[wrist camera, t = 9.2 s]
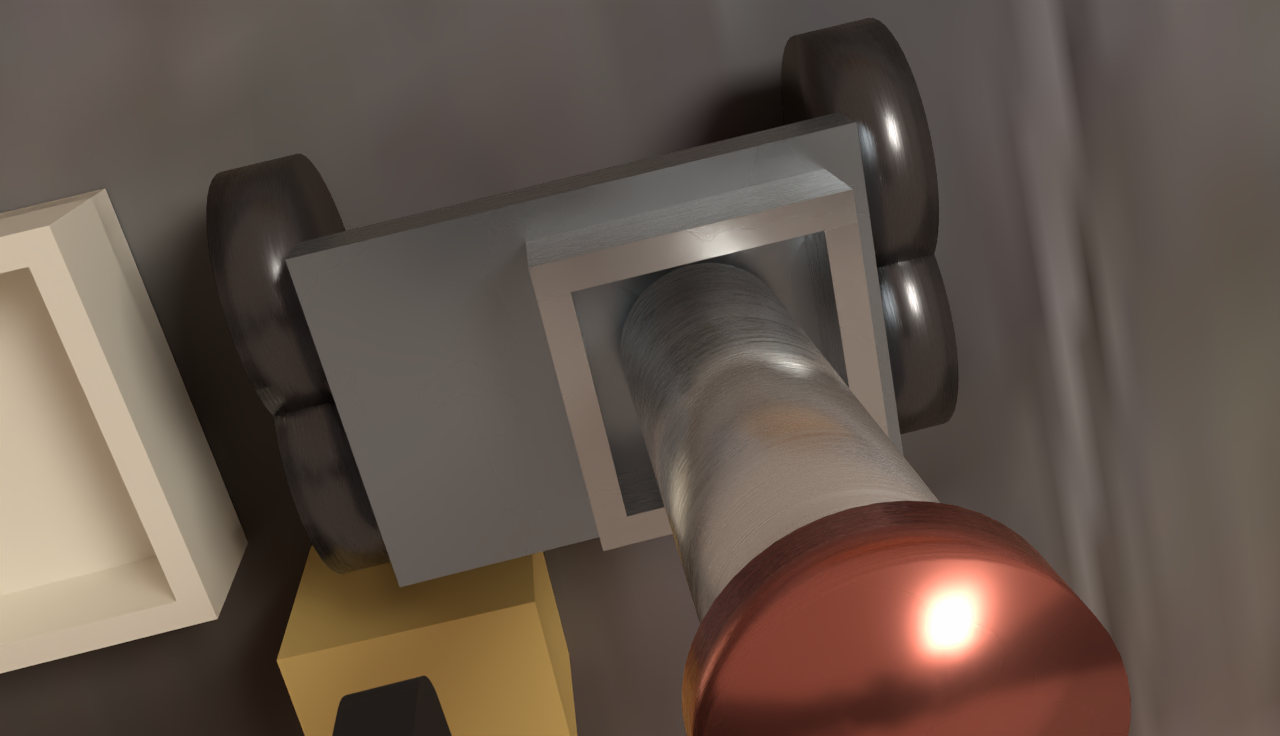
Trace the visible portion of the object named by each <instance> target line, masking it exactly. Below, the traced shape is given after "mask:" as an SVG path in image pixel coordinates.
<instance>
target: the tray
mask: <svg viewBox="0 0 1280 736" xmlns="http://www.w3.org/2000/svg"><path fill="white" fill-rule="evenodd" d="M247 545H248V541H247V539H246V536H245V534H244V531H243V529H242V526H241V524H240V521H239V519H238V516H237V514H236V512H235V509H234V507H233V504H232V502H231V499H230V497H229V494H228V492H227V489H226V487H225V484H224V482H223V479H222V477H221V474H220V472H219V469H218V467H217V464H216V462H215V459H214V457H213V455H212V452H211V450H210V447H209V445H208V442H207V440H206V437H205V435H204V432H203V430H202V427H201V425H200V422H199V420H198V417H197V415H196V412H195V410H194V407H193V405H192V402H191V400H190V398H189V395H188V393H187V390H186V388H185V385H184V383H183V380H182V378H181V375H180V373H179V370H178V368H177V365H176V363H175V360H174V358H173V355H172V353H171V350H170V348H169V345H168V343H167V341H166V338H165V336H164V333H163V331H162V328H161V326H160V323H159V321H158V318H157V316H156V313H155V311H154V308H153V306H152V303H151V301H150V298H149V296H148V293H147V291H146V288H145V286H144V284H143V281H142V279H141V276H140V274H139V271H138V269H137V266H136V264H135V261H134V259H133V256H132V254H131V251H130V249H129V246H128V244H127V241H126V239H125V236H124V234H123V231H122V229H121V227H120V224H119V222H118V219H117V217H116V214H115V212H114V209H113V207H112V204H111V202H110V199H109V197H108V194H107V192H106V189H100V190H96V191H92V192H88V193H84V194H79V195H75V196H71V197H67V198H63V199H58V200H54V201H50V202H46V203H42V204H37V205H33V206H29V207H25V208H21V209H16V210H12V211H8V212H4V213H0V673H4V672H8V671H12V670H16V669H20V668H24V667H28V666H32V665H36V664H40V663H44V662H48V661H52V660H56V659H60V658H64V657H68V656H72V655H76V654H80V653H84V652H88V651H92V650H96V649H100V648H104V647H108V646H112V645H116V644H120V643H124V642H128V641H132V640H136V639H140V638H144V637H148V636H152V635H156V634H160V633H164V632H168V631H172V630H176V629H180V628H184V627H188V626H192V625H196V624H200V623H204V622H208V621H212V620H216V619H218V617H219V614H220V612H221V609H222V607H223V604H224V602H225V599H226V597H227V594H228V592H229V589H230V587H231V584H232V582H233V579H234V577H235V574H236V572H237V569H238V567H239V565H240V562H241V560H242V557H243V555H244V552H245V550H246V547H247Z"/></svg>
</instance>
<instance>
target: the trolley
mask: <svg viewBox="0 0 1280 736" xmlns="http://www.w3.org/2000/svg"><path fill="white" fill-rule="evenodd" d="M781 82H782V104H783V115H784V124H785V125H784V126H780V127H776V128H772V129H768V130H763V131H759V132H755V133H751V134H747V135H743V136H739V137H734V138H730V139H726V140H722V141H718V142H714V143H709V144H705V145H701V146H697V147H693V148H689V149H684V150H680V151H676V152H672V153H668V154H664V155H660V156H655V157H651V158H647V159H643V160H639V161H635V162H630V163H626V164H622V165H618V166H614V167H610V168H605V169H601V170H597V171H593V172H589V173H585V174H581V175H576V176H572V177H568V178H564V179H560V180H556V181H551V182H547V183H543V184H539V185H535V186H531V187H526V188H522V189H518V190H514V191H510V192H506V193H502V194H497V195H493V196H489V197H485V198H481V199H477V200H472V201H468V202H464V203H460V204H456V205H452V206H447V207H443V208H439V209H435V210H431V211H427V212H423V213H418V214H414V215H410V216H406V217H402V218H398V219H393V220H389V221H385V222H381V223H377V224H373V225H368V226H364V227H360V228H356V229H352V230H348V231H345V228H344V225H343V223H342V220H341V217H340V215H339V212H338V210H337V208H336V205H335V203H334V201H333V199H332V196H331V194H330V192H329V190H328V188H327V186H326V184H325V182H324V181H323V179H322V177H321V175H320V174H319V172H318V171H317V169H316V167H315V166H314V165H313V164H312V162H311V161H310V160H309V159H308V158H307V157H306V156H304V155H302V154H295V155H290V156H286V157H282V158H278V159H274V160H269V161H265V162H261V163H257V164H253V165H248V166H244V167H240V168H236V169H231V170H227V171H223V172H220V173H218V174H216V175H215V177H214V178H213V179H212V182H211V184H210V187H209V191H208V196H207V235H208V244H209V251H210V258H211V263H212V269H213V274H214V278H215V283H216V287H217V292H218V295H219V299H220V303H221V307H222V310H223V313H224V317H225V320H226V323H227V326H228V329H229V332H230V335H231V338H232V340H233V343H234V346H235V348H236V351H237V353H238V356H239V358H240V361H241V363H242V365H243V367H244V370H245V372H246V374H247V376H248V378H249V380H250V382H251V384H252V386H253V388H254V389H255V391H256V393H257V394H258V396H259V398H260V399H261V401H262V403H263V404H264V405H265V407H266V408H267V409H268V411H269V412H270V413H271V414H272V415H273V418H274V425H275V431H276V436H277V442H278V446H279V451H280V455H281V460H282V464H283V468H284V471H285V475H286V479H287V482H288V485H289V489H290V492H291V495H292V498H293V501H294V504H295V506H296V509H297V512H298V514H299V517H300V519H301V522H302V524H303V527H304V529H305V531H306V533H307V535H308V537H309V539H310V541H311V543H312V545H313V547H314V548H315V550H316V552H317V553H318V555H319V556H320V558H321V559H322V561H323V562H324V563H325V564H326V565H327V566H328V567H329V568H330V569H331V570H332V571H334V572H336V573H337V574H345V573H349V572H353V571H357V570H361V569H365V568H369V567H373V566H377V565H381V564H385V563H389V562H391V564H392V567H393V569H394V572H395V575H396V578H397V581H398V584H399V587H403V586H407V585H411V584H415V583H419V582H423V581H427V580H431V579H435V578H439V577H443V576H447V575H451V574H455V573H459V572H463V571H467V570H471V569H475V568H479V567H483V566H487V565H491V564H495V563H499V562H503V561H507V560H511V559H515V558H519V557H523V556H527V555H531V554H535V553H539V552H543V551H547V550H550V549H554V548H558V547H562V546H566V545H570V544H574V543H578V542H582V541H586V540H590V539H594V538H598V537H600V541H601V545H602V548H603V551H606V550H610V549H614V548H618V547H622V546H626V545H630V544H634V543H638V542H642V541H646V540H650V539H654V538H658V537H662V536H666V535H670V534H673V533H672V530H671V526H670V523H669V520H668V516H667V513H666V510H665V506H664V503H663V500H662V497H661V493H660V490H659V487H658V483H657V480H656V477H655V473H654V470H653V467H652V464H651V460H650V457H649V454H648V450H647V447H646V444H645V440H644V437H643V434H642V431H641V427H640V424H639V421H638V417H637V414H636V411H635V407H634V404H633V401H632V398H631V394H630V391H629V388H628V384H627V381H626V378H625V374H624V371H623V368H622V363H621V357H620V341H621V333H622V329H623V325H624V322H625V320H626V317H627V315H628V313H629V311H630V309H631V307H632V305H633V304H634V302H635V301H636V300H637V298H638V297H639V296H640V295H641V293H642V292H643V291H644V290H645V289H646V288H647V287H648V286H649V285H651V284H652V283H653V282H654V281H656V280H657V279H659V278H660V277H662V276H663V275H665V274H667V273H669V272H671V271H673V270H675V269H678V268H681V267H684V266H687V265H692V264H697V263H722V264H727V265H732V266H735V267H738V268H741V269H744V270H745V271H747V272H749V273H751V274H753V275H755V276H756V277H757V278H759V279H760V280H762V281H763V282H764V283H765V284H766V285H767V286H768V287H769V288H770V289H771V290H772V292H773V293H774V294H775V295H776V297H777V298H778V299H779V301H780V302H781V303H782V304H783V306H784V307H785V308H786V309H787V311H788V312H789V313H790V314H791V316H792V317H793V318H794V319H795V321H796V322H797V323H798V324H799V326H800V327H801V328H802V329H803V331H804V332H805V333H806V334H807V336H808V337H809V338H810V340H811V341H812V342H813V343H814V345H815V346H816V347H817V348H818V350H819V351H820V352H821V353H822V355H823V356H824V357H825V358H826V360H827V361H828V362H829V363H830V365H831V366H832V367H833V368H834V370H835V371H836V372H837V374H838V375H839V376H840V377H841V379H842V380H843V381H844V382H845V384H846V385H847V386H848V387H849V389H850V390H851V391H852V392H853V394H854V395H855V396H856V397H857V399H858V400H859V401H860V402H861V404H862V405H863V406H864V408H865V409H866V410H867V411H868V413H869V414H870V415H871V416H872V418H873V419H874V420H875V421H876V423H877V424H878V425H879V426H880V428H881V429H882V430H883V431H884V433H885V434H886V435H887V436H888V438H889V439H890V440H891V441H892V443H893V444H894V445H895V447H896V448H897V449H898V450H899V452H900V453H901V454H902V455H903V450H902V443H901V436H900V434H904V433H908V432H912V431H916V430H920V429H924V428H928V427H932V426H936V425H940V424H944V423H946V422H947V421H949V419H950V418H951V417H952V415H953V412H954V410H955V406H956V402H957V394H958V358H957V347H956V340H955V333H954V327H953V322H952V316H951V311H950V307H949V303H948V298H947V294H946V291H945V287H944V283H943V280H942V276H941V273H940V270H939V267H938V264H937V261H936V258H935V255H934V252H935V249H936V243H937V237H938V226H939V199H938V184H937V174H936V166H935V159H934V153H933V147H932V142H931V136H930V132H929V128H928V123H927V119H926V115H925V111H924V108H923V104H922V100H921V97H920V94H919V91H918V88H917V85H916V82H915V79H914V77H913V74H912V72H911V69H910V67H909V64H908V62H907V60H906V58H905V55H904V53H903V52H902V50H901V48H900V46H899V44H898V42H897V41H896V39H895V38H894V36H893V35H892V33H891V32H890V31H889V30H888V28H887V27H886V26H885V25H884V24H883V23H881V22H880V21H879V20H876V19H874V18H866V19H862V20H858V21H854V22H849V23H845V24H841V25H837V26H833V27H828V28H824V29H820V30H816V31H811V32H807V33H803V34H799V35H795V36H792V37H790V39H789V40H788V41H787V44H786V46H785V49H784V54H783V61H782V75H781Z"/></svg>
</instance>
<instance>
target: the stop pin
mask: <svg viewBox="0 0 1280 736" xmlns="http://www.w3.org/2000/svg"><path fill="white" fill-rule="evenodd" d="M620 357H621V363H622V368H623V371H624V374H625V378H626V381H627V384H628V388H629V391H630V394H631V398H632V401H633V404H634V407H635V411H636V414H637V417H638V421H639V424H640V427H641V431H642V434H643V437H644V440H645V444H646V447H647V450H648V454H649V457H650V460H651V464H652V467H653V470H654V473H655V477H656V480H657V483H658V487H659V490H660V493H661V497H662V500H663V503H664V506H665V510H666V513H667V516H668V520H669V523H670V526H671V530H672V533H673V536H674V539H675V543H676V546H677V549H678V553H679V556H680V559H681V563H682V566H683V569H684V572H685V576H686V579H687V582H688V586H689V589H690V592H691V596H692V599H693V602H694V606H695V609H696V612H697V615H698V619H699V622H700V626H699V629H698V631H697V633H696V635H695V637H694V640H693V642H692V644H691V648H690V651H689V655H688V658H687V661H686V665H685V671H684V678H683V685H682V712H683V718H684V724H685V729H686V734H687V736H1128V733H1129V727H1130V705H1131V698H1130V692H1129V685H1128V679H1127V674H1126V671H1125V668H1124V665H1123V662H1122V659H1121V656H1120V654H1119V652H1118V650H1117V648H1116V646H1115V644H1114V642H1113V640H1112V638H1111V637H1110V635H1109V633H1108V632H1107V631H1106V629H1105V628H1104V627H1103V626H1102V624H1101V623H1100V622H1099V620H1098V619H1097V618H1096V616H1095V615H1094V614H1093V613H1092V612H1091V611H1090V610H1089V609H1088V607H1087V606H1086V605H1085V604H1084V603H1083V602H1082V601H1081V600H1080V598H1079V597H1078V596H1077V595H1076V594H1075V593H1074V592H1073V591H1072V589H1071V588H1070V587H1069V586H1068V585H1067V584H1066V583H1065V582H1064V580H1063V579H1062V578H1061V577H1060V576H1059V575H1058V574H1057V573H1056V571H1055V570H1054V569H1053V568H1052V567H1051V566H1050V565H1049V564H1048V562H1047V561H1046V560H1045V559H1044V558H1043V557H1042V556H1041V555H1040V553H1039V552H1038V551H1037V550H1035V549H1034V548H1033V547H1032V546H1031V545H1030V544H1029V543H1028V542H1027V541H1026V540H1025V539H1024V538H1023V537H1021V536H1020V535H1018V534H1017V533H1015V532H1014V531H1013V530H1011V529H1010V528H1008V527H1007V526H1005V525H1004V524H1002V523H1000V522H998V521H996V520H994V519H991V518H989V517H987V516H985V515H983V514H981V513H978V512H975V511H971V510H968V509H965V508H962V507H959V506H954V505H948V504H942V503H940V502H939V501H938V499H937V498H936V497H935V496H934V494H933V493H932V492H931V491H930V489H929V488H928V487H927V486H926V484H925V483H924V482H923V481H922V479H921V478H920V477H919V475H918V474H917V473H916V472H915V470H914V469H913V468H912V467H911V465H910V464H909V463H908V462H907V460H906V459H905V458H904V457H903V455H902V454H901V453H900V452H899V450H898V449H897V448H896V447H895V445H894V444H893V443H892V441H891V440H890V439H889V438H888V436H887V435H886V434H885V433H884V431H883V430H882V429H881V428H880V426H879V425H878V424H877V423H876V421H875V420H874V419H873V418H872V416H871V415H870V414H869V413H868V411H867V410H866V409H865V408H864V406H863V405H862V404H861V402H860V401H859V400H858V399H857V397H856V396H855V395H854V394H853V392H852V391H851V390H850V389H849V387H848V386H847V385H846V384H845V382H844V381H843V380H842V379H841V377H840V376H839V375H838V374H837V372H836V371H835V370H834V368H833V367H832V366H831V365H830V363H829V362H828V361H827V360H826V358H825V357H824V356H823V355H822V353H821V352H820V351H819V350H818V348H817V347H816V346H815V345H814V343H813V342H812V341H811V340H810V338H809V337H808V336H807V334H806V333H805V332H804V331H803V329H802V328H801V327H800V326H799V324H798V323H797V322H796V321H795V319H794V318H793V317H792V316H791V314H790V313H789V312H788V311H787V309H786V308H785V307H784V306H783V304H782V303H781V302H780V301H779V299H778V298H777V297H776V295H775V294H774V293H773V292H772V290H771V289H770V288H769V287H768V286H767V285H766V284H765V283H764V282H763V281H762V280H760V279H759V278H757V277H756V276H755V275H753V274H751V273H749V272H747V271H745V270H744V269H741V268H738V267H735V266H732V265H727V264H722V263H697V264H692V265H687V266H684V267H681V268H678V269H675V270H673V271H671V272H669V273H667V274H665V275H663V276H662V277H660V278H659V279H657V280H656V281H654V282H653V283H652V284H651V285H649V286H648V287H647V288H646V289H645V290H644V291H643V292H642V293H641V295H640V296H639V297H638V298H637V300H636V301H635V302H634V304H633V305H632V307H631V309H630V311H629V313H628V315H627V317H626V320H625V322H624V325H623V329H622V333H621V341H620Z"/></svg>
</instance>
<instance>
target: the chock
mask: <svg viewBox="0 0 1280 736" xmlns="http://www.w3.org/2000/svg"><path fill="white" fill-rule="evenodd" d="M277 663H278V665H279V668H280V671H281V673H282V676H283V679H284V681H285V684H286V687H287V689H288V692H289V695H290V697H291V700H292V703H293V705H294V708H295V711H296V713H297V716H298V719H299V721H300V724H301V727H302V729H303V732H304V735H305V736H332V734H333V729H334V725H335V720H336V715H337V710H338V706H339V703H340V701H341V699H342V697H343V696H344V695H348V694H352V693H356V692H360V691H364V690H368V689H372V688H376V687H380V686H384V685H388V684H392V683H396V682H400V681H404V680H408V679H412V678H416V677H420V676H424V675H425V676H427V677H428V678H429V679H430V681H431V683H432V684H433V686H434V688H435V691H436V693H437V696H438V698H439V701H440V704H441V707H442V710H443V712H444V715H445V718H446V721H447V724H448V726H449V729H450V732H451V735H452V736H577V728H576V718H575V709H574V699H573V689H572V679H571V669H570V659H569V653H568V649H567V645H566V641H565V637H564V633H563V629H562V625H561V621H560V617H559V613H558V610H557V606H556V602H555V598H554V594H553V590H552V586H551V582H550V578H549V574H548V570H547V566H546V562H545V558H544V555H543V552H539V553H535V554H531V555H527V556H523V557H519V558H515V559H511V560H507V561H503V562H499V563H495V564H491V565H487V566H483V567H479V568H475V569H471V570H467V571H463V572H459V573H455V574H451V575H447V576H443V577H439V578H435V579H431V580H427V581H423V582H419V583H415V584H411V585H407V586H403V587H399V584H398V581H397V578H396V575H395V572H394V569H393V567H392V564H391V562H389V563H385V564H381V565H377V566H373V567H369V568H365V569H361V570H357V571H353V572H349V573H345V574H337V573H336V572H334V571H332V570H331V569H330V568H329V567H328V566H327V565H326V564H325V563H324V562H323V561H322V559H321V558H320V556H319V555H318V553H317V552H316V550H315V548H314V547H313V546H311V548H310V551H309V555H308V558H307V561H306V565H305V568H304V571H303V575H302V578H301V581H300V585H299V588H298V591H297V595H296V598H295V601H294V604H293V608H292V611H291V614H290V618H289V621H288V624H287V628H286V631H285V634H284V638H283V641H282V644H281V648H280V651H279V654H278V658H277Z"/></svg>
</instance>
